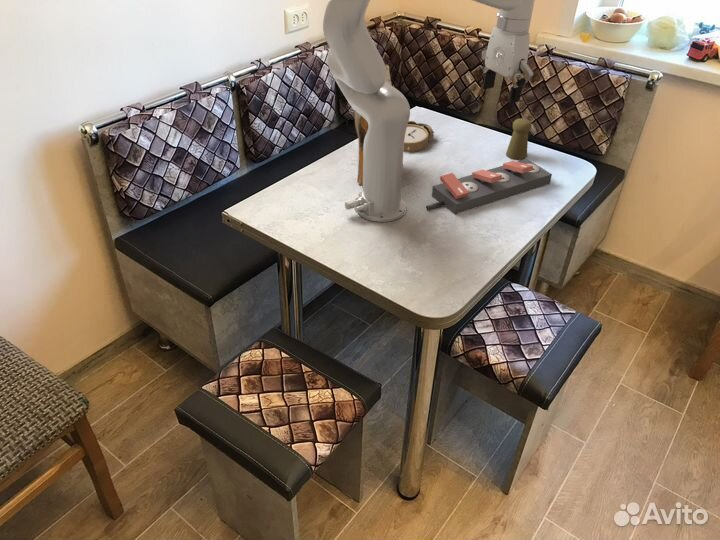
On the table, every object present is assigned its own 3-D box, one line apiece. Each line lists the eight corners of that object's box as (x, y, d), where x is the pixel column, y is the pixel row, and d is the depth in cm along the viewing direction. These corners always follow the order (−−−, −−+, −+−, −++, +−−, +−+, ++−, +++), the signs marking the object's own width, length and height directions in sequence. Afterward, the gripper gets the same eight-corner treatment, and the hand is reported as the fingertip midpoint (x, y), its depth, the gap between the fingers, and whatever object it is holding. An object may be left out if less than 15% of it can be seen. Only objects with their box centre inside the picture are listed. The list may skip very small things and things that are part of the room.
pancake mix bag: (342, 182, 166) (342, 81, 149) (383, 156, 179) (387, 59, 161) (362, 190, 163) (365, 87, 146) (402, 163, 175) (409, 65, 158)
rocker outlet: (522, 176, 161) (522, 168, 161) (502, 170, 168) (502, 163, 167) (532, 173, 163) (532, 165, 162) (513, 167, 169) (513, 160, 168)
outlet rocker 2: (491, 185, 157) (490, 178, 156) (472, 179, 163) (471, 172, 163) (502, 182, 159) (501, 174, 158) (482, 176, 165) (482, 169, 164)
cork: (528, 160, 178) (536, 125, 171) (507, 160, 178) (514, 124, 171) (524, 150, 183) (531, 116, 176) (504, 150, 183) (510, 115, 176)
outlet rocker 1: (455, 201, 155) (457, 195, 153) (439, 181, 159) (440, 175, 157) (466, 197, 156) (469, 192, 155) (450, 178, 160) (452, 172, 158)
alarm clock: (382, 136, 182) (410, 112, 190) (383, 150, 186) (411, 125, 194) (413, 147, 177) (441, 122, 185) (414, 161, 181) (441, 136, 188)
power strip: (438, 219, 153) (439, 208, 151) (415, 200, 160) (416, 189, 157) (549, 183, 168) (552, 172, 165) (524, 168, 174) (526, 157, 172)
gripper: (477, 15, 147) (467, 85, 157) (526, 36, 135) (512, 110, 146) (501, 12, 150) (489, 80, 160) (551, 32, 138) (536, 104, 149)
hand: (500, 94), depth 153 cm, fingers open, 9 cm apart
